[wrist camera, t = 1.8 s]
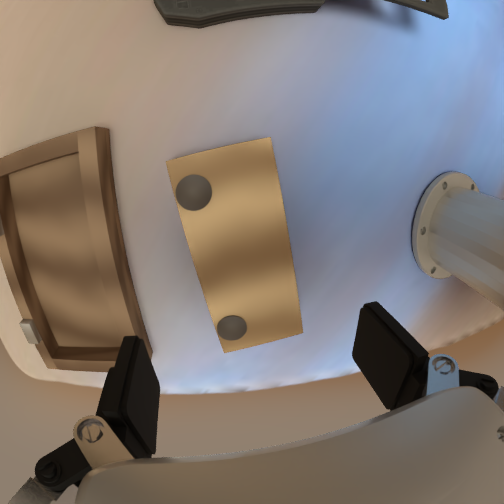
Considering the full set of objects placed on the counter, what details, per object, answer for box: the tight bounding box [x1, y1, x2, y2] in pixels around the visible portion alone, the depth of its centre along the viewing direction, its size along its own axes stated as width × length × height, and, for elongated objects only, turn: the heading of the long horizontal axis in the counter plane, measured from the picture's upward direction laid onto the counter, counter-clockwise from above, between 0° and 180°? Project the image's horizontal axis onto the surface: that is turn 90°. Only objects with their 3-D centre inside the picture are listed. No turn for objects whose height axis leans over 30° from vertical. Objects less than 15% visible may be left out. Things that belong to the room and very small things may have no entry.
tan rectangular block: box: [166, 137, 303, 353], centre depth 22 cm, size 16×7×4 cm, turn 12°
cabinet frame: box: [0, 127, 153, 372], centre depth 20 cm, size 22×12×4 cm, turn 3°
